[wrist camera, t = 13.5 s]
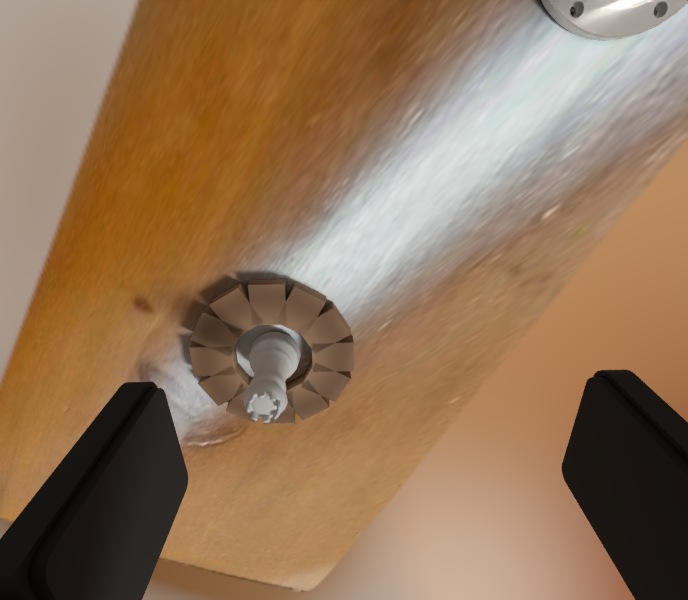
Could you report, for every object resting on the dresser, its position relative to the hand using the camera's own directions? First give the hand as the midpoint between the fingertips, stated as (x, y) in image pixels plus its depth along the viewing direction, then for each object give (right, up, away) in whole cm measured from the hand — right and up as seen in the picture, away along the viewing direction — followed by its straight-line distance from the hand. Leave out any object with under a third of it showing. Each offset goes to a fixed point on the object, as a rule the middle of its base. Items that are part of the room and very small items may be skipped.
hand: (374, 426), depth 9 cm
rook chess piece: (-7, -2, +27) cm, 28 cm away
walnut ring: (-7, -2, +27) cm, 28 cm away
